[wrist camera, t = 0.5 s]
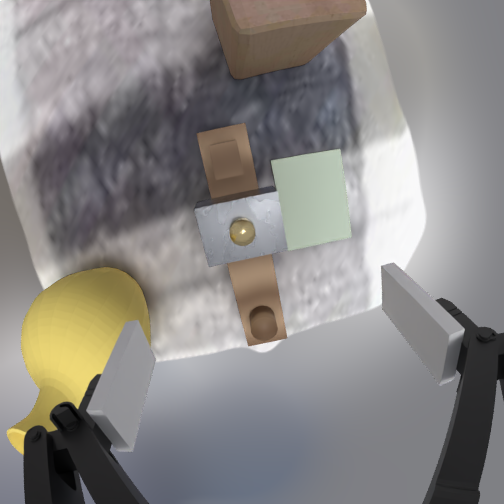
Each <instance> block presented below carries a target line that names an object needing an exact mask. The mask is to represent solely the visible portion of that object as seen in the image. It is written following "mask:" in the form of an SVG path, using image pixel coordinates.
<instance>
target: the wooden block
mask: <svg viewBox="0 0 504 504" xmlns="http://www.w3.org/2000/svg"><path fill="white" fill-rule="evenodd" d="M210 5H211V12H212V19H213V22H214V25H215V28H216V31H217V34H218V37H219V40H220V43H221V46H222V49H223V52H224V55H225V58H226V61H227V64H228V67H229V70H230V74H231V75H232V76H233V77H234V79H245V78H248V77H252V76H256V75H260V74H264V73H268V72H273V71H277V70H282V69H286V68H291V67H296V66H301V65H305V64H306V63H308V62H309V61H310V60H312V59H313V58H314V57H315V56H316V55H317V54H318V53H320V52H321V51H322V50H323V49H324V48H325V47H327V46H328V45H329V44H330V43H331V42H332V41H334V40H335V39H336V38H337V37H338V36H340V35H341V34H342V33H343V32H344V31H346V30H347V29H348V28H349V27H351V26H352V25H353V24H354V23H356V22H357V21H358V20H359V19H361V18H362V17H363V16H364V15H366V11H367V7H366V1H365V0H210Z"/></svg>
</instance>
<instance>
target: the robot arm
mask: <svg viewBox="0 0 504 504" xmlns="http://www.w3.org/2000/svg"><path fill="white" fill-rule="evenodd" d="M381 275H382V310H383V311H384V312H385V313H386V315H387V316H388V317H389V318H390V320H391V321H392V322H393V324H394V325H395V326H396V328H397V329H398V330H399V332H400V333H401V334H402V335H403V337H404V338H405V339H406V341H407V342H408V343H409V345H410V346H411V347H412V349H413V350H414V351H415V353H416V354H417V355H418V357H419V358H420V359H421V361H422V362H423V363H424V365H425V366H426V368H427V369H428V370H429V372H430V373H431V374H432V376H433V377H434V379H435V380H436V381H437V383H438V384H439V386H441V385H443V384H445V383H448V382H450V381H452V380H454V378H455V373H456V369H457V371H458V372H459V373H460V374H461V377H460V381H459V385H458V388H457V396H456V400H455V404H454V409H453V413H452V417H451V421H450V424H449V428H448V432H447V435H446V439H445V442H444V445H443V448H442V452H441V455H440V458H439V461H438V464H437V467H436V470H435V472H434V475H433V478H432V481H431V484H430V486H429V488H428V491H427V494H426V497H425V499H424V501H423V503H422V504H478V502H479V498H480V491H479V490H478V487H479V483H480V479H481V475H482V471H483V467H484V463H485V458H486V453H487V448H488V443H489V438H490V432H491V426H492V419H493V412H494V404H495V395H496V384H497V380H500V385H501V390H502V395H503V400H504V333H500V334H497V333H496V332H495V331H494V330H492V329H491V328H487V327H477V326H476V325H475V324H474V323H473V322H472V321H471V320H470V319H469V318H468V317H467V316H466V315H465V314H464V313H462V311H460V310H459V309H457V307H456V306H455V305H454V304H453V303H452V302H450V301H448V300H446V299H443V298H440V299H437V300H434V299H433V298H432V297H431V296H430V295H429V294H428V293H427V292H426V291H425V290H424V289H423V288H421V287H420V286H419V285H418V284H417V283H416V282H415V281H414V280H413V279H412V278H410V277H409V276H408V275H407V274H406V273H405V272H404V271H403V270H402V269H400V268H399V267H398V266H397V265H396V264H395V263H390V264H386V265H383V266H381ZM155 361H156V358H155V356H154V354H153V352H152V350H151V348H150V345H149V343H148V341H147V339H146V336H145V334H144V332H143V330H142V327H141V325H140V323H139V321H138V320H134V321H129V322H126V323H125V325H124V327H123V329H122V331H121V333H120V335H119V337H118V339H117V342H116V344H115V346H114V348H113V350H112V352H111V355H110V357H109V359H108V361H107V363H106V366H105V368H104V370H103V373H102V374H97V375H96V376H95V377H94V378H93V379H92V380H91V381H90V383H89V385H88V387H87V390H86V392H85V394H84V396H83V399H82V401H81V403H80V405H79V408H78V409H77V408H76V407H75V405H74V404H73V403H72V402H62V403H60V404H58V405H56V406H55V407H54V408H53V409H52V411H51V413H50V415H49V416H50V420H51V422H52V423H53V424H54V425H55V427H56V428H57V429H58V430H55V431H51V432H48V431H47V430H46V429H45V428H44V427H43V426H41V425H37V426H34V427H32V428H30V429H29V430H28V431H27V433H26V434H25V437H24V490H25V491H24V493H25V504H85V501H84V497H83V492H82V488H81V483H80V477H79V474H80V476H81V478H82V480H83V482H84V484H85V485H86V487H87V489H88V491H89V493H90V495H91V496H92V498H93V500H94V502H95V503H96V504H149V503H148V502H147V500H146V499H145V498H144V497H143V495H142V494H141V493H140V491H139V490H138V489H137V488H136V486H135V485H134V484H133V482H132V481H131V479H130V478H129V477H128V475H127V474H126V473H125V471H124V470H123V468H122V467H121V465H120V464H119V463H118V461H117V460H116V458H115V457H114V455H113V454H112V453H111V451H110V448H111V444H112V445H113V446H114V447H115V448H116V450H117V451H121V452H124V451H125V452H129V451H133V449H134V445H135V441H136V436H137V432H138V428H139V424H140V419H141V415H142V411H143V407H144V403H145V399H146V395H147V391H148V387H149V384H150V380H151V376H152V372H153V369H154V365H155Z"/></svg>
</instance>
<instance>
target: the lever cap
mask: <svg viewBox="0 0 504 504" xmlns="http://www.w3.org/2000/svg"><path fill="white" fill-rule="evenodd" d="M194 211H195V215H196V219H197V223H198V227H199V231H200V235H201V239H202V242H203V246H204V250H205V254H206V258H207V261H208V265H209V267H212V266H216V265H221V264H226V263H231V262H235V261H240V260H245V259H249V258H254V257H259V256H264V255H268V254H273V253H278V252H282V251H287V250H288V247H287V241H286V235H285V230H284V224H283V218H282V213H281V207H280V202H279V197H278V191H277V190H276V189H275V188H274V187H273V186H269V187H264V188H259V189H254V190H249V191H245V192H240V193H235V194H231V195H226V196H222V197H217V198H213V199H208V200H204V201H200V202H197V204H196V206H195V208H194Z"/></svg>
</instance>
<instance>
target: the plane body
mask: <svg viewBox="0 0 504 504" xmlns="http://www.w3.org/2000/svg"><path fill="white" fill-rule="evenodd" d="M197 138H198V142H199V147H200V151H201V156H202V160H203V165H204V169H205V173H206V178H207V182H208V186H209V191H210V195H211V199H213V198H217V197H222V196H226V195H231V194H235V193H240V192H245V191H249V190H254V189H259V188H258V183H257V178H256V173H255V168H254V163H253V159H252V154H251V149H250V144H249V139H248V134H247V130H246V125H245V123H242V124H237V125H232V126H227V127H223V128H218V129H214V130H209V131H205V132H201V133H197ZM227 265H228V269H229V273H230V277H231V281H232V285H233V289H234V293H235V297H236V301H237V305H238V309H239V312H240V316H241V320H242V324H243V328H244V332H245V335H246V339H247V343H248V346H252V345H257V344H262V343H267V342H272V341H277V340H281V339H286V338H287V334H286V329H285V323H284V318H283V312H282V307H281V302H280V296H279V291H278V286H277V280H276V275H275V270H274V264H273V259H272V254H268V255H264V256H259V257H254V258H249V259H245V260H240V261H235V262H231V263H227Z"/></svg>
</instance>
